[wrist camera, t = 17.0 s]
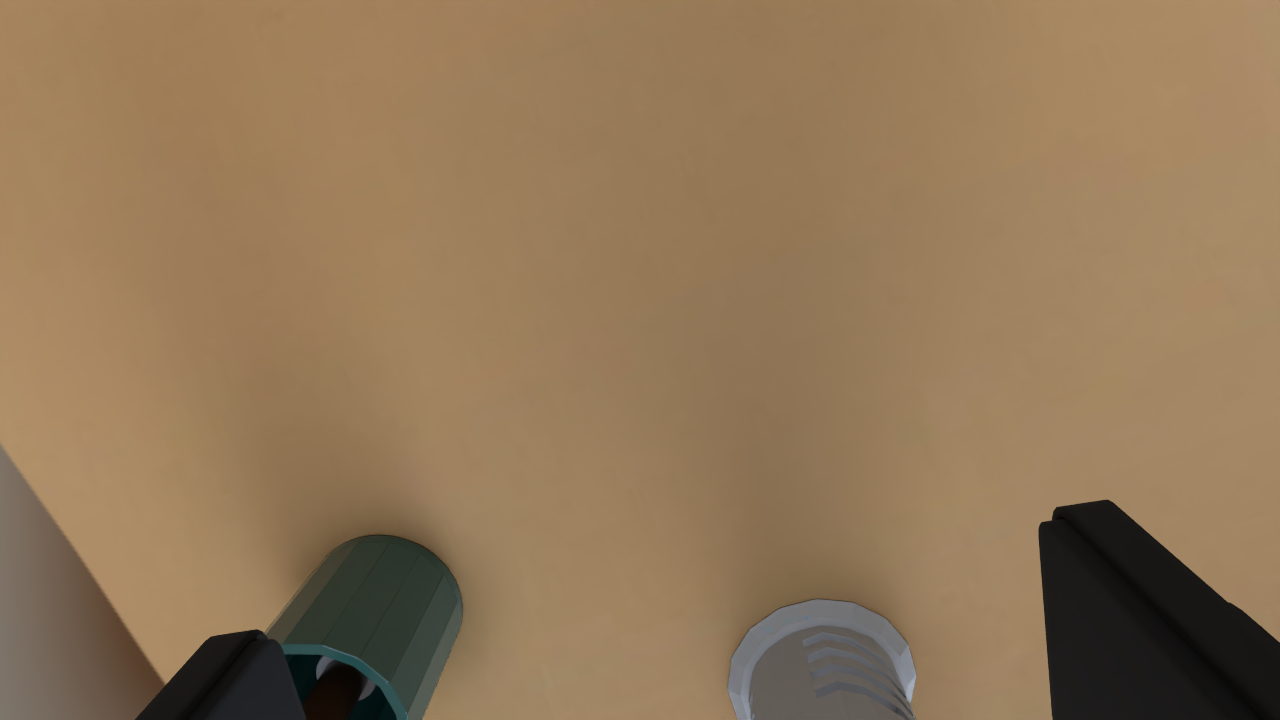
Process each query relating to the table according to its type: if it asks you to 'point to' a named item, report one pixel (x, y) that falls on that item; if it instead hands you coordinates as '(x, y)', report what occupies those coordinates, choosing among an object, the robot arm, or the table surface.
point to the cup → (374, 623)
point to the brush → (336, 691)
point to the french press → (822, 666)
